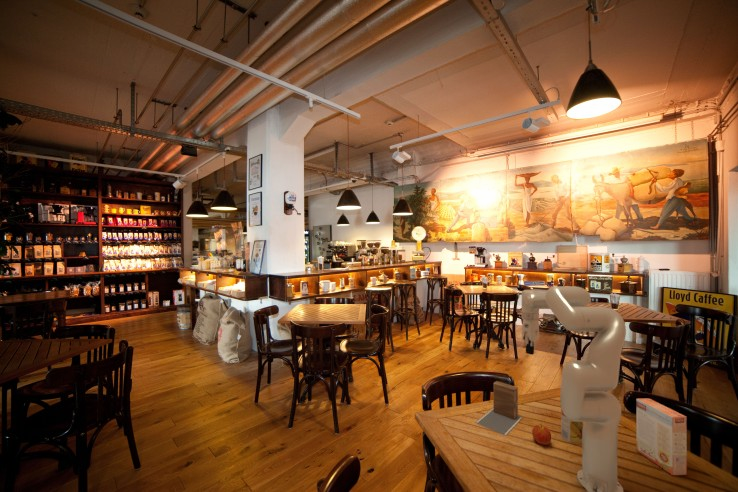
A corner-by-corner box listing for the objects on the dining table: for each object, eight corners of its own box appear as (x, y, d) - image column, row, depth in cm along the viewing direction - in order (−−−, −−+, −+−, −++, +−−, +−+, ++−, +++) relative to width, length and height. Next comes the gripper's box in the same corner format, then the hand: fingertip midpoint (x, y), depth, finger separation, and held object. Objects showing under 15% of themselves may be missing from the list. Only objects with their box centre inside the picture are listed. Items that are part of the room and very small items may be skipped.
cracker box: (688, 475, 110) (687, 416, 110) (672, 476, 109) (671, 416, 109) (649, 449, 124) (649, 397, 124) (635, 450, 123) (635, 397, 123)
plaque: (514, 420, 144) (514, 389, 144) (493, 412, 151) (493, 383, 151) (517, 416, 147) (517, 387, 147) (496, 409, 154) (496, 380, 154)
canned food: (588, 441, 129) (588, 412, 129) (573, 445, 127) (573, 415, 127) (570, 431, 136) (570, 403, 136) (556, 434, 134) (556, 406, 134)
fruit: (552, 441, 129) (552, 422, 129) (550, 450, 123) (550, 430, 123) (533, 436, 133) (533, 417, 133) (531, 444, 127) (531, 424, 127)
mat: (506, 436, 132) (506, 435, 132) (475, 423, 142) (475, 422, 142) (523, 418, 146) (523, 417, 146) (493, 407, 156) (493, 406, 156)
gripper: (533, 319, 142) (532, 359, 143) (543, 314, 153) (543, 351, 153) (516, 317, 148) (515, 355, 148) (527, 312, 158) (527, 348, 158)
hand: (529, 353), depth 150 cm, fingers closed
